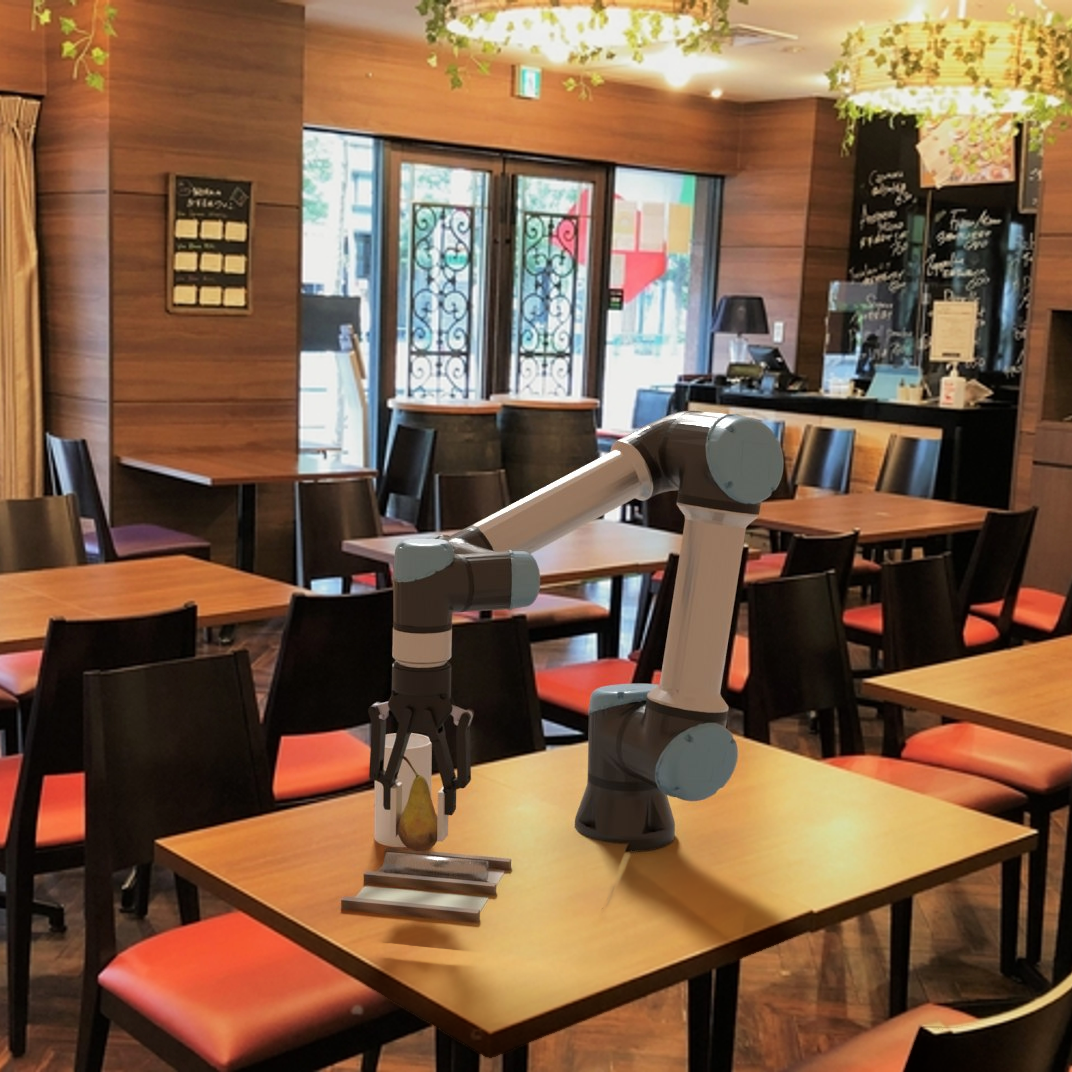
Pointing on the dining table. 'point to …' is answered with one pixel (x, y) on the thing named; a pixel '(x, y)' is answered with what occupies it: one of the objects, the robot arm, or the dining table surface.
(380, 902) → the rack
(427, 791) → the fruit
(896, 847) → the dining table surface
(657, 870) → the dining table surface
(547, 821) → the dining table surface
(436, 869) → the rod
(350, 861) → the dining table surface
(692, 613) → the robot arm
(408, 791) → the cup
